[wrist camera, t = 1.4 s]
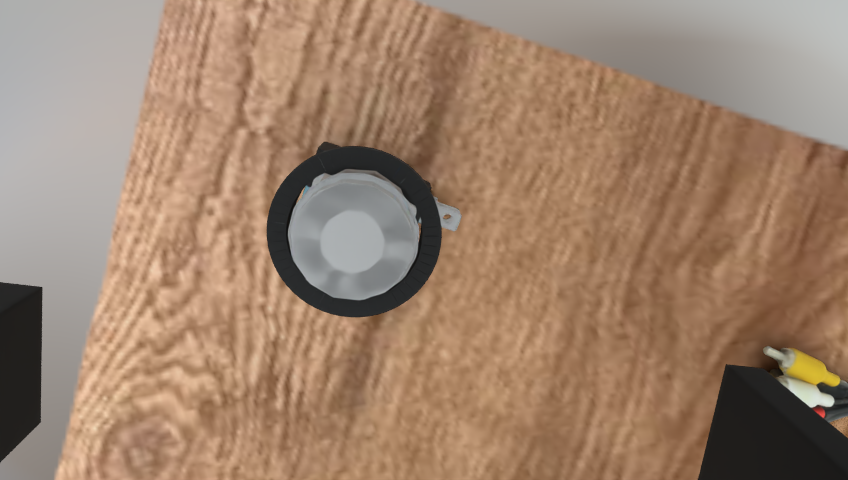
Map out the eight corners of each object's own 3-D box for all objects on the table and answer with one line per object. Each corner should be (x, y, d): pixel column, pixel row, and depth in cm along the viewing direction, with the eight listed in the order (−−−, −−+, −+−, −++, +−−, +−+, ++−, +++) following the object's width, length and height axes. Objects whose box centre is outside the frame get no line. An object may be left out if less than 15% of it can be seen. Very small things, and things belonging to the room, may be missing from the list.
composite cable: (947, 360, 34) (989, 383, 31) (915, 453, 35) (953, 482, 32) (743, 331, 33) (770, 352, 31) (717, 426, 34) (741, 453, 32)
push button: (477, 159, 31) (512, 203, 21) (434, 273, 32) (448, 364, 22) (328, 105, 30) (292, 124, 20) (288, 223, 31) (238, 295, 22)
